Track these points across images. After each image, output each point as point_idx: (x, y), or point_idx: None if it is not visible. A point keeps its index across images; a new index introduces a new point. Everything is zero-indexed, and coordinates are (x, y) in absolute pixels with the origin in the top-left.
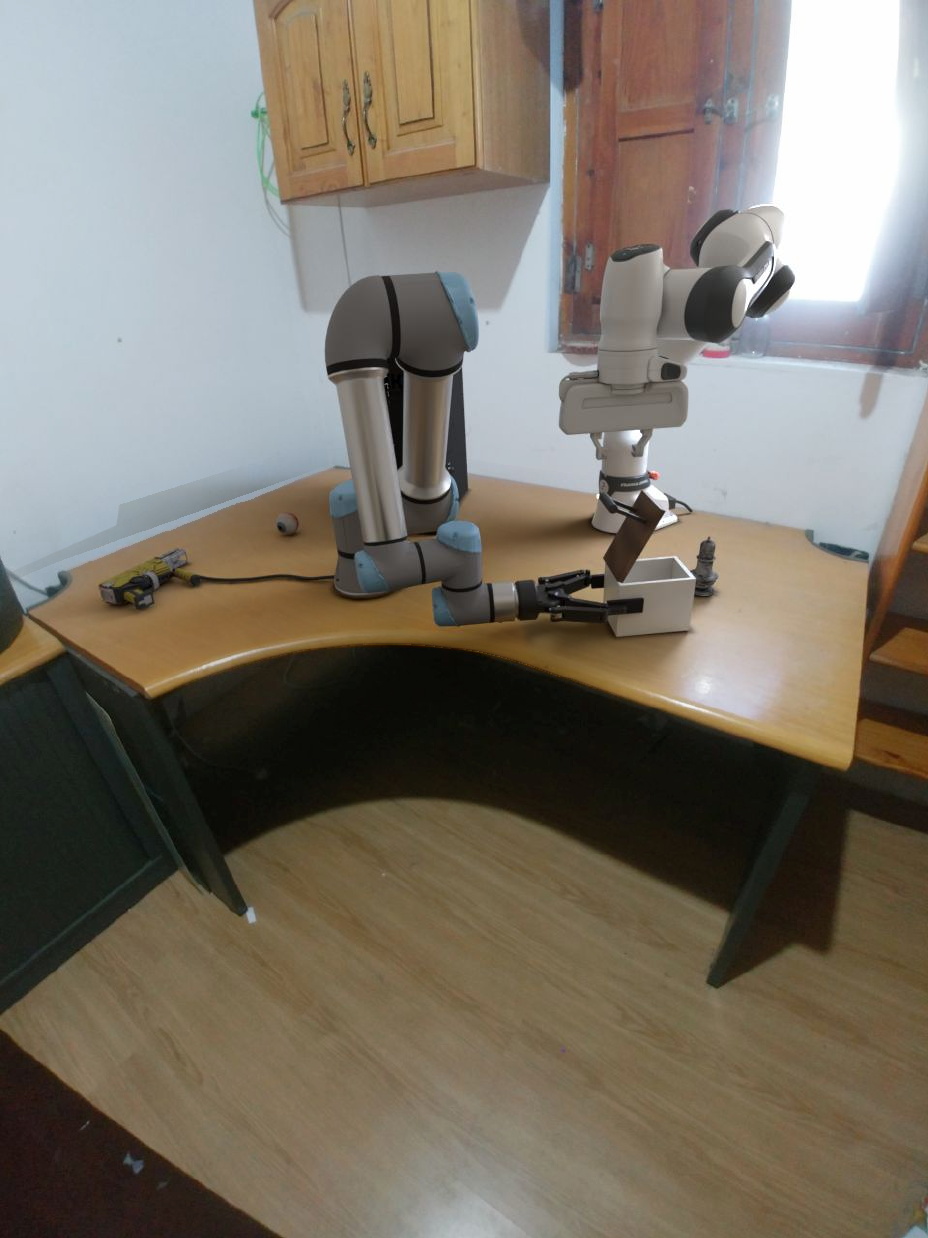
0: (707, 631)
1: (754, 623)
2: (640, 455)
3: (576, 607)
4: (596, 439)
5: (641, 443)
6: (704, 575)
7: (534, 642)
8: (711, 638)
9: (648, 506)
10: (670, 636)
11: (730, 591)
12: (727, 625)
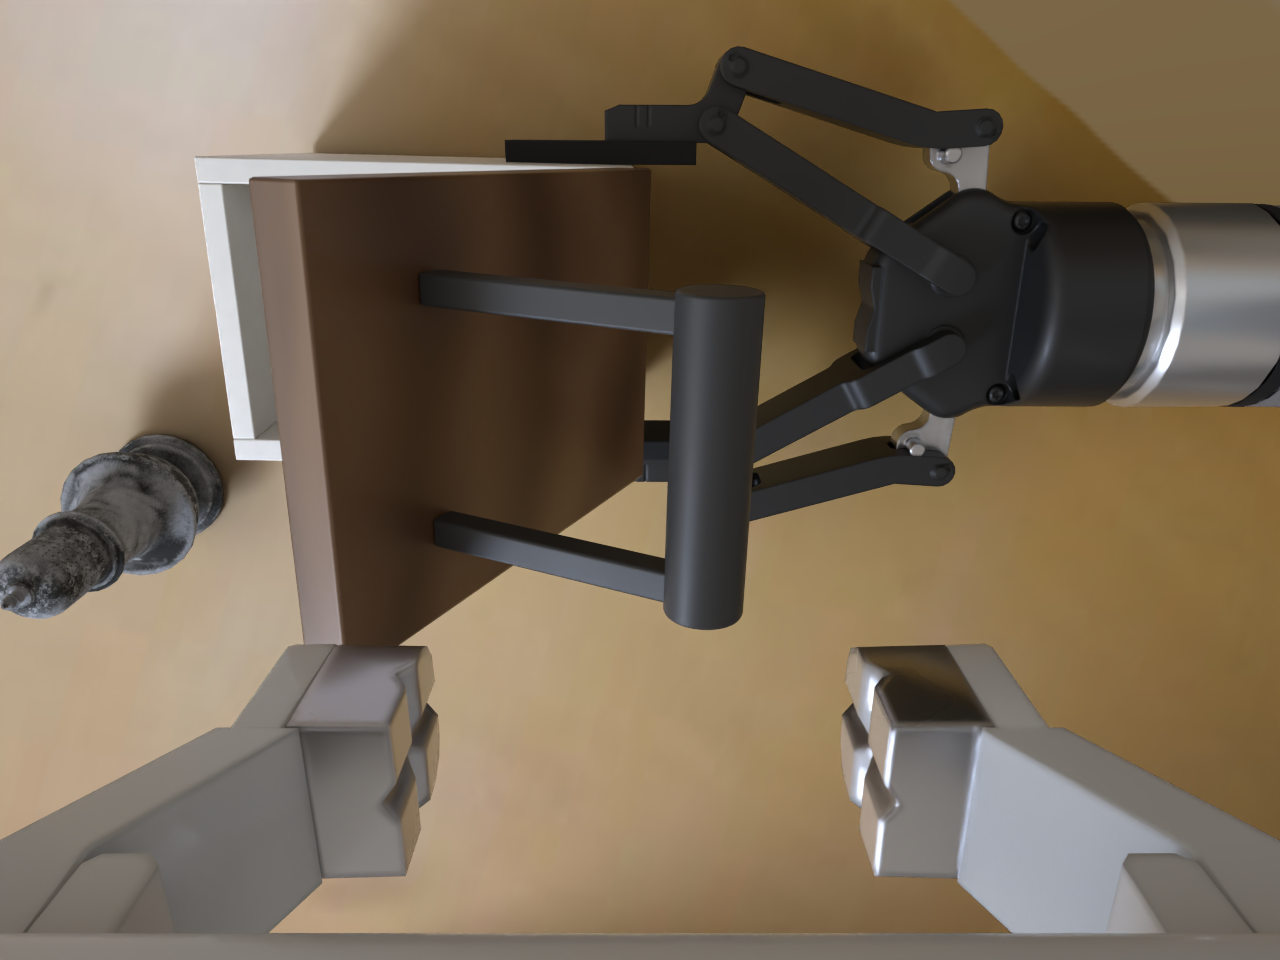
0: (228, 141)
1: (7, 175)
2: (332, 646)
3: (868, 122)
4: (1233, 849)
5: (260, 785)
6: (125, 485)
7: (987, 174)
8: (226, 78)
9: (364, 399)
10: (398, 126)
11: (43, 461)
12: (128, 178)
